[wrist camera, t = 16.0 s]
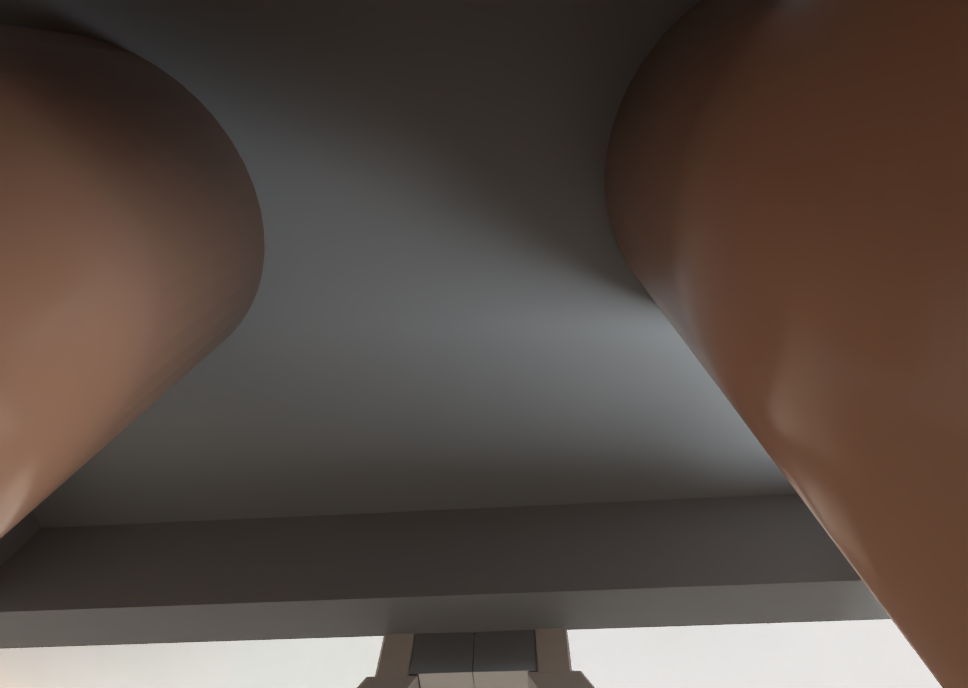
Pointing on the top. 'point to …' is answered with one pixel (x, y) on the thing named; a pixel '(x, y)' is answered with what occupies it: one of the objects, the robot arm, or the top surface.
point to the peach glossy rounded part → (823, 265)
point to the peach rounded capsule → (106, 249)
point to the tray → (419, 360)
